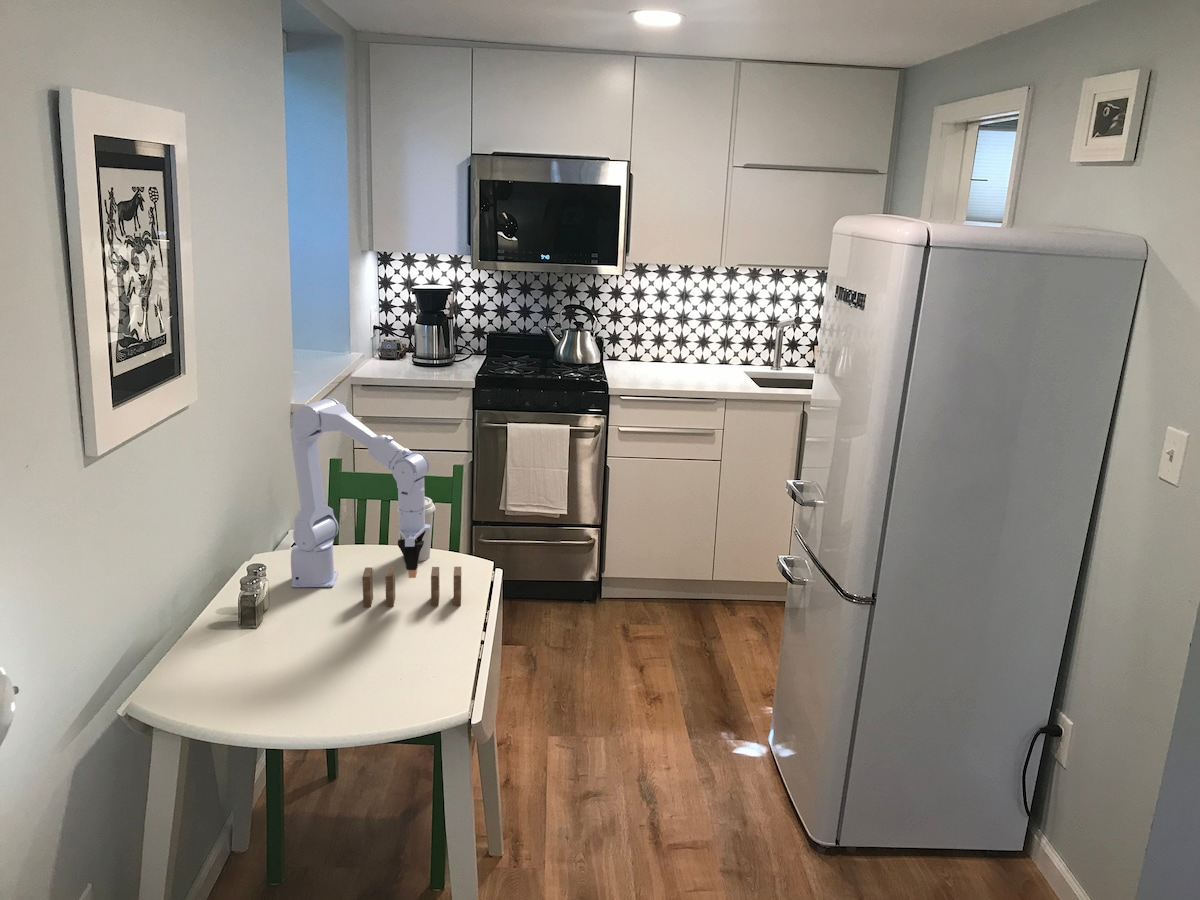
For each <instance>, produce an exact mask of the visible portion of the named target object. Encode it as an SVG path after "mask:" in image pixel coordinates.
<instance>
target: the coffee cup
mask: <svg viewBox="0 0 1200 900" xmlns="http://www.w3.org/2000/svg"><path fill="white" fill-rule="evenodd" d="M396 511H397V513H399V507H398V505H397V507H396ZM435 511H436V506H435V504H434V502H433V499H431V498H430V497H428V496H425V524H426V525H430V530H428V531H426V532H425V534H424V536H423V539H422V541H424V544H423V547H422V548H421V551H420V553H419V559H418V563H419V562H423V561H427V560H428V559H430V557H431V556H430V555H431V547H432V546H431V544H432V533H433V522H434V521H433V519H434V512H435ZM400 536H401V540H402V539H404V538H403V536H402V535H401V534H400Z"/></svg>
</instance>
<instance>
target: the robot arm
mask: <svg viewBox="0 0 1200 900" xmlns="http://www.w3.org/2000/svg"><path fill="white" fill-rule="evenodd" d="M291 417H292V427H291V431H290V441H291V446H292V454H293V462H294V468H295V475H296V476H295V477H296V482H297V483H296V484H297V490H298V495H299V502H300V509H299V511H298V512H297V514H296V516H295V517H294V520H293V522H294V528H293V533H292V538H293V541H294V544H295V545H293V546H292V547H291V553H290V569H291V573H290V574H291V588H333V587H334V585H335V582H336V580H337V577H338V574H339V572H338V571H335V566H334V548H333V547H334V542H335V538H336V536H337V535H338V533H339V526H340V525H339V523H338V520H337V519H336V517H335V515H334V509H333V508H332V507H330V506H328V505H327V504H326V498H325V497H326V496H325V491H324V483H323V477H322V476H323V475H322V470H321V469H322V468H321V460H320V453H319V447H318V439H319V438H320V437H321V436H322V434H324V433H325V432H335V431H336V432H341V433H342V434H344V435H345V436H346V437H349V438H350V439H352V440H353V441H356V442H357V443H359V444H360V445H361V446H364V447H366V449H367V450H368V455H369V457H371V458H372V459H373V460H375V461H377V462H378V463H380V464H381V465H382V466H383V467H385V468H387V469H388V470H390V471H391V473H392V476H393V478H394V480H395V482H396V488H397V496H398V497H397V498H398V499H397V503H398V504H397V506H398V507H399V512H398V526H397V531H398V532H399V534H400V536H401V535H402V536H403V538H404V539H402V538H401V539H397V546H398V548H399V549H400V551H401V554H402V556H403V560H404V565H405V568H406V570H407V571H408V570H416V569H417V570H418V563H419V562H418V559H419V553H420V551H421V548H422V547H423V544H424V541H422V539H423V536H424V534H425V532H426V531H428V530H430V525H426V524H425V497H426V496H425V490H426V489H425V476H426V475H427V474H428V473H429V470H430V463H429V460H428V458H427V457H426V456H425V455H424V454H423V453H422V452H420V451H412V450H410V449H408V448H405V447H403V446H402V445H400V443H398V442H396V441H395V440H394V437H393V436H391V435H386V434H379V435H377V434H376V433H375V432H374V431H372V430H371V429H370V428H368V427H367V426H366V425H365V424H363V423H362V422H361V421H360V420H358V419H357V418H356V417H355V416H353V415H352V414H351V413H349V411H347V407H346V406H345V405H344V404H343V403H341V402H339V401H338V400H337V399H335V398H333V397H325V398H323V399H321V400H317V401H314V402H311V403H309V404H303V405H301V406H299V407H298V408H297V409H296V410H295V411H294V412H293V413H292V414H291ZM402 536H401V537H402ZM416 538H417V541H416Z"/></svg>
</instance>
